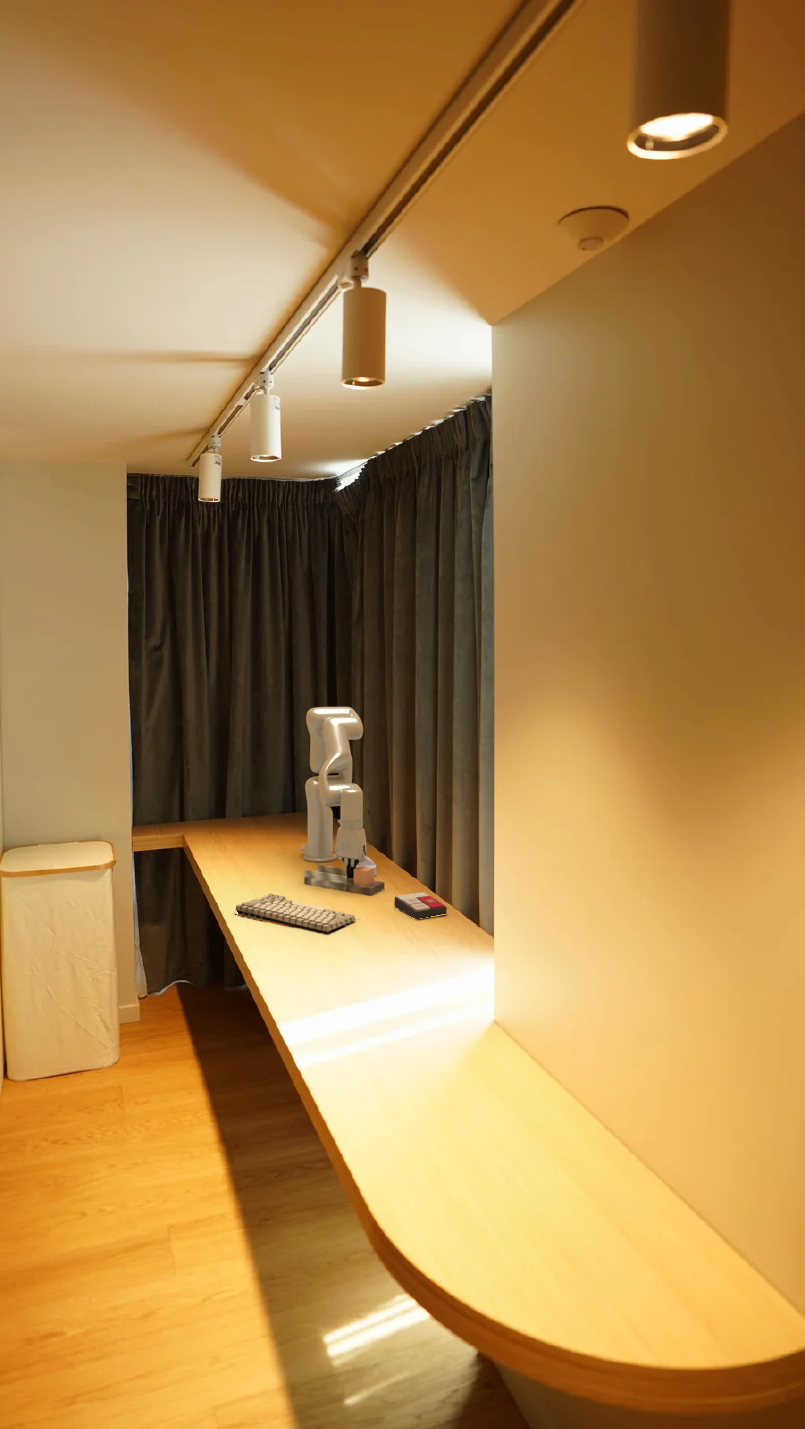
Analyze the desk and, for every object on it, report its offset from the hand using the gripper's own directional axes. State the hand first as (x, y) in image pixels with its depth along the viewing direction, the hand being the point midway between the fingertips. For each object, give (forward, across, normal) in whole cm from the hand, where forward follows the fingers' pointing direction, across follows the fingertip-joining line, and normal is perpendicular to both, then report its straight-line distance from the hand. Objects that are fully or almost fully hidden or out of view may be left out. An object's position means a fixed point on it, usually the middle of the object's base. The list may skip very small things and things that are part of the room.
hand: (351, 877), depth 329 cm
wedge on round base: (+4, -7, +18) cm, 20 cm away
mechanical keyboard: (+5, +2, -35) cm, 35 cm away
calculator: (+4, +32, -10) cm, 34 cm away
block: (+1, +5, 0) cm, 5 cm away
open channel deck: (+4, -4, 0) cm, 5 cm away
